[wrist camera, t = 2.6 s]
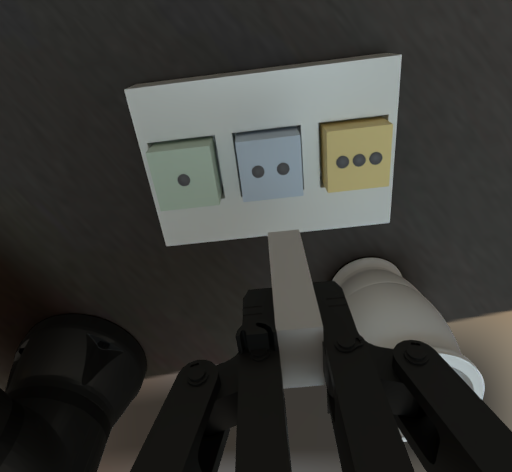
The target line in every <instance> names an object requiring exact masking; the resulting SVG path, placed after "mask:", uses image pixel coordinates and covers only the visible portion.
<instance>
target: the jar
mask: <svg viewBox="0 0 512 472" xmlns="http://www.w3.org/2000/svg"><path fill="white" fill-rule="evenodd" d="M332 281H335V282H336V283H337V284H338V285H339V286H340V287H342V289H343V292H344V295H345V298H346V300H347V303H348V306H349V309H350V312H351V314H352V317H353V320H354V323H355V325H356V328H357V331H358V333H359V335H360V336H362V337H363V338H364V340H365V341H367V342H368V343H370V344H373V345H375V346H379V347H384V348H390V349H394V347H395V346H396V345H397V344H398V343H400V342H401V341H404V340H417V341H421V342H423V343H426V344H428V345H429V346H431V347H432V348H433V349H435V350H436V351H437V353H438V354H439V355H440V356H441V357H442V358H443V359H444V360H445V361H446V362H447V363H448V364H449V365H450V366H451V367H452V369H453V370H454V371H455V372H456V373H457V374H458V375H459V376H460V377H461V378H462V379H463V380H464V381H465V382H466V383H467V385H468V386H469V387H470V388H471V389H472V390H473V391H474V392H475V393H476V394H477V395H478V396H479V397H480V398H481V399H483V396H484V390H485V385H484V380H483V377H482V375H481V373H480V372H479V370H478V369H477V367H476V366H475V365H474V364H473V362H472V361H471V360H469V359H468V358H467V357H466V356H464V355H462V353H461V350H460V348H459V345H458V343H457V341H456V339H455V337H454V335H453V333H452V331H451V329H450V327H449V326H448V324H447V323H446V321H445V320H444V318H443V317H442V315H441V314H440V313H439V312H438V310H437V309H436V308H435V307H434V306H433V305H432V304H431V303H430V302H429V301H428V300H427V299H426V298H425V297H424V296H423V295H422V294H421V293H420V292H419V291H418V290H417V289H416V288H415V287H414V286H413V285H412V284H411V283H410V282H408V281H407V280H406V279H404V278H403V277H402V275H401V273H400V271H399V270H398V268H397V267H396V266H395V265H393V264H392V263H391V262H389V261H387V260H384V259H380V258H362V259H358V260H355V261H353V262H351V263H349V264H347V265H345V266H344V267H343V268H341V269H340V270H339V271H338V272H337V274H336V275H335V276H334V278H333V280H332ZM398 429H399V428H398ZM399 432H400V434H401V437H402V440H403V442H407V440H406V439H405V437H404V436H403V434H402V433H401V431H400V430H399Z"/></svg>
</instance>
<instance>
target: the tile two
mask: <svg viewBox="0 0 512 472" xmlns="http://www.w3.org/2000/svg"><path fill="white" fill-rule="evenodd" d="M235 146H236V153H237V160H238V167H239V174H240V181H241V188H242V195H243V202H251V201H260V200H269V199H278V198H287V197H296V196H304V195H303V176H302V158H301V139H300V133H299V131H298V129H297V127H296V126H295V127H286V128H278V129H269V130H261V131H252V132H244V133H236V140H235Z"/></svg>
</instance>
